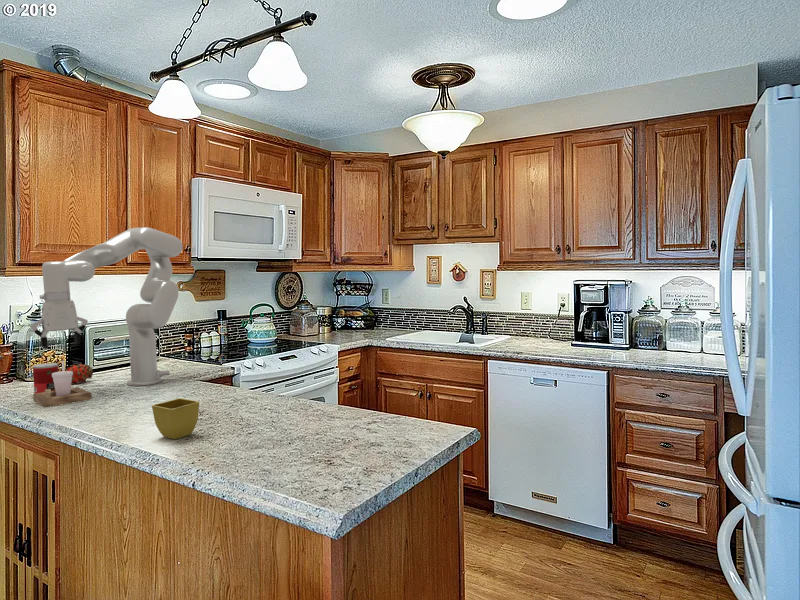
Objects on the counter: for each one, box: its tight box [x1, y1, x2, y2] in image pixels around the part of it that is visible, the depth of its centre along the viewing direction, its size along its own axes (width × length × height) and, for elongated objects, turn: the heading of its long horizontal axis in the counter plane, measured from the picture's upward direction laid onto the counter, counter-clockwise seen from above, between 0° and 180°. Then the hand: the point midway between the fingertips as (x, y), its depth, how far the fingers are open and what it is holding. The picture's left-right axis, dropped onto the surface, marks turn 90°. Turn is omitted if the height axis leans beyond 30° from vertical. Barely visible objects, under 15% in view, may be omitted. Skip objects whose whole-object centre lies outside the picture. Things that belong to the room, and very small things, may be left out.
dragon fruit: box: [65, 362, 94, 384], centre depth 219 cm, size 8×8×12 cm
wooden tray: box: [33, 386, 92, 408], centre depth 189 cm, size 14×14×6 cm
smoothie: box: [52, 360, 73, 396], centre depth 189 cm, size 6×6×14 cm
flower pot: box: [151, 398, 200, 440], centre depth 146 cm, size 9×9×9 cm
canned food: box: [32, 362, 60, 394], centre depth 199 cm, size 8×8×11 cm
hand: (61, 346), depth 189 cm, fingers open, 9 cm apart
